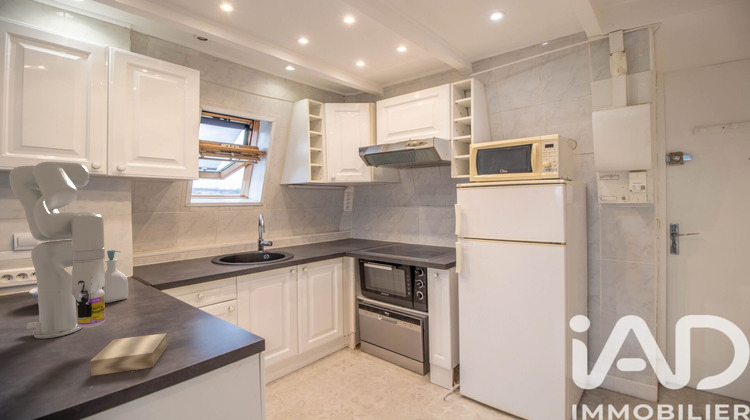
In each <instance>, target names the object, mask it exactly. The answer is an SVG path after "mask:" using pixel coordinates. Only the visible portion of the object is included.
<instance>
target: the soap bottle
mask: <svg viewBox="0 0 750 420" xmlns="http://www.w3.org/2000/svg"><path fill="white" fill-rule="evenodd" d="M106 253H107V257H108V259H105V260H104V262H105V263H106V271H105V285H104V286H103V291H104V294H105V304H108V303H114V302H117V301H121V300H122V301H123V300H125V299H127V298H128V297H129V283H128V281H129V280H128V277H127V276H126V274H124V272H122V271H120V270H119V269H118V268H117V262H118V260H119V259H118V258H115V255H116V253H120V251H118V250H115V249H109V250H106Z"/></svg>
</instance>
